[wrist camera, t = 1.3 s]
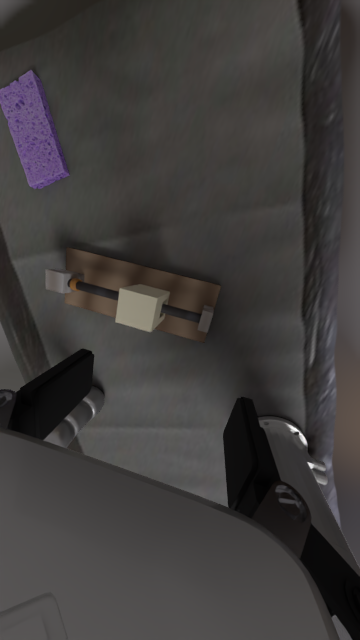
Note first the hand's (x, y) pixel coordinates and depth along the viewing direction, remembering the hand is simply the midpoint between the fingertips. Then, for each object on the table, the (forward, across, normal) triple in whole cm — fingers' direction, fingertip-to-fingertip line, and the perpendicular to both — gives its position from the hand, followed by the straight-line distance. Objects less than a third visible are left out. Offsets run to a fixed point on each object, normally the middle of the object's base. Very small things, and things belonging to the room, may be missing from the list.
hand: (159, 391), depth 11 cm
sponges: (+23, +30, -20) cm, 43 cm away
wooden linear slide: (+22, +10, 0) cm, 24 cm away
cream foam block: (+19, +7, 0) cm, 20 cm away
